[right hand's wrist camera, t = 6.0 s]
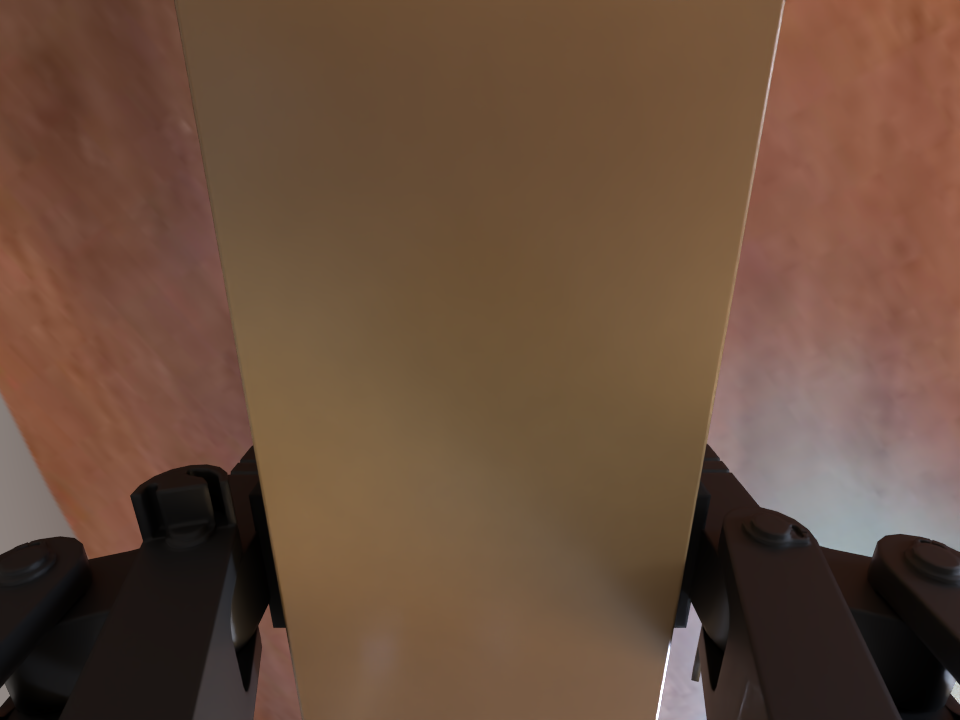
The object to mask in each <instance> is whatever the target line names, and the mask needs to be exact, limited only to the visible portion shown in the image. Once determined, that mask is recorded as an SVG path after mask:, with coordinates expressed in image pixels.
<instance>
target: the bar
mask: <svg viewBox="0 0 960 720" xmlns="http://www.w3.org/2000/svg"><path fill="white" fill-rule="evenodd" d="M174 2H175V8H176V13H177V19H178V25H179V30H180V36H181V42H182V47H183V53H184V58H185V64H186V70H187V75H188V81H189V86H190V92H191V98H192V103H193V109H194V115H195V120H196V126H197V131H198V137H199V143H200V148H201V154H202V159H203V165H204V171H205V176H206V182H207V188H208V193H209V199H210V204H211V210H212V216H213V221H214V227H215V233H216V238H217V244H218V249H219V255H220V261H221V266H222V272H223V277H224V283H225V289H226V294H227V300H228V306H229V311H230V317H231V322H232V328H233V334H234V339H235V345H236V351H237V356H238V362H239V367H240V373H241V379H242V384H243V390H244V395H245V401H246V407H247V412H248V418H249V424H250V429H251V435H252V440H253V446H254V452H255V457H256V463H257V468H258V474H259V480H260V485H261V491H262V497H263V502H264V508H265V513H266V519H267V525H268V530H269V536H270V542H271V547H272V553H273V558H274V564H275V570H276V575H277V581H278V586H279V592H280V598H281V603H282V609H283V615H284V620H285V626H286V631H287V637H288V643H289V648H290V654H291V660H292V665H293V671H294V676H295V682H296V688H297V693H298V699H299V704H300V710H301V716H302V720H657V719H658V714H659V708H660V703H661V697H662V691H663V686H664V680H665V674H666V669H667V663H668V658H669V652H670V646H671V641H672V635H673V629H674V624H675V618H676V613H677V607H678V601H679V596H680V590H681V584H682V579H683V573H684V568H685V562H686V556H687V551H688V545H689V539H690V534H691V528H692V523H693V517H694V511H695V506H696V500H697V494H698V489H699V483H700V478H701V472H702V466H703V461H704V455H705V450H706V444H707V438H708V433H709V427H710V421H711V416H712V410H713V405H714V399H715V393H716V388H717V382H718V376H719V371H720V365H721V360H722V354H723V348H724V343H725V337H726V331H727V326H728V320H729V315H730V309H731V303H732V298H733V292H734V286H735V281H736V275H737V270H738V264H739V258H740V253H741V247H742V241H743V236H744V230H745V225H746V219H747V213H748V208H749V202H750V197H751V191H752V185H753V180H754V174H755V168H756V163H757V157H758V152H759V146H760V140H761V135H762V129H763V123H764V118H765V112H766V107H767V101H768V95H769V90H770V84H771V78H772V73H773V67H774V62H775V56H776V50H777V45H778V39H779V33H780V28H781V22H782V17H783V11H784V5H785V0H174Z"/></svg>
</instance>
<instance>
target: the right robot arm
mask: <svg viewBox="0 0 960 720" xmlns="http://www.w3.org/2000/svg"><path fill="white" fill-rule="evenodd" d="M130 497H131V500H132V504H133V507H134V511H135V514H136V518H137V521H138V525H139V528H140V532H141V535H142V539H143V543H142V545H141V547H140V548H139V549H136V550H132V551H128V552H123V553H118V554H113V555H108V556H104V557H99V558H94V559H89V560H88V558H87V555H86V552H85V549H84V547H83V544H82V543H81V542H79V541H78V540H77V539H75V538H70V537H61V536H60V537H53V538H46V539H39V540H35V541H31V542H30V543H25V544H22V545H19V546H17V547H15V548H13V549H12V550H10V551H7V552H5V553H3V554H1V555H0V688H1V687H2V686H3V685H4V683H5V685H6V687H7V690H8V692H9V694H10V697H9V698H8V699H7V700H6V701H5V702H4V704H3V705H2V706H1V707H0V720H253V717H254V709H255V701H256V692H257V684H258V676H259V668H260V659H261V651H262V644H261V637H260V632H259V627H258V625H259V623H260V621H261V619H262V616H263V614H264V612H265V610H266V608H267V606H268V604H269V606H270V612H271V617H272V622H273V628H286V626H285V620H284V615H283V609H282V603H281V598H280V592H279V586H278V581H277V575H276V570H275V564H274V558H273V553H272V547H271V542H270V536H269V530H268V525H267V519H266V513H265V508H264V502H263V497H262V491H261V485H260V480H259V474H258V468H257V463H256V457H255V452H254V446H252V447H251V448H250V449H249V450H248V451H247V453H246V454H245V455H244V456H243V457H242V459H241V460H240V463H238V464H237V465H236V466H235V467H234V468H233V470H232V471H231V475H228V474H227V472H225V471H224V470H223V469H222V468H220V467H217V466H212V465H189V466H185V467H180V468H176V469H172V470H169V471H167V472H164V473H162V474H159V475H156V476H154V477H152V478H151V479H149V480H148V481H146V482H144V483H143V484H141V485H140V486H139V487H138V488H137V489H136V490H135V491H134V492H133V493H132V494H131V495H130ZM691 602H692V604H693V606H694V608H695V610H696V613H697V615H698V617H699V619H700V621H701V623H702V627H701V632H700V637H699V642H698V647H697V652H696V656H695V661H694V666H693V672H692V679H691V680H693V681H697V682H699V677H700V672H701V675H702V683H703V691H704V699H705V708H706V716H707V720H960V704H959V703H958V702H957V701H956V700H955V698H954V697H953V696H952V695H951V694H950V693H951V691H952V688H953V686H954V684H955V682H956V681H957V682H958V683H959V684H960V552H958V551H956V550H954V549H952V548H950V547H948V546H946V545H945V544H943V543H940V542H937V541H934V540H930V539H927V538H923V537H918V536H911V535H904V534H896V535H887V536H885V537H883V538H882V539H880V540H879V541H878V542H877V545H876V548H875V551H874V554H873V557H867V556H863V555H858V554H853V553H848V552H843V551H838V550H833V549H829V548H825V547H821V546H819V544H818V542H817V540H816V539H815V537H814V536H813V535H812V534H811V532H810V531H809V530H808V529H807V528H806V527H804V526H803V525H801V524H800V523H799V522H797V521H796V520H795V519H792V518H790V517H788V516H786V515H784V514H781V513H779V512H777V511H773V510H769V509H765V508H761V507H760V506H759V505H758V504H757V503H756V502H755V500H754V499H753V498H752V497H751V496H750V494H749V493H748V492H747V491H746V490H745V488H744V487H743V486H742V485H741V484H740V482H739V481H738V480H737V479H736V478H735V476H734V475H733V474H732V473H729V469H728V468H727V467H726V465H725V464H724V463H723V462H722V461H720V458H719V457H718V456H717V455H716V453H715V452H714V451H713V450H712V449H711V447H710V446H709V445H708V444H706V450H705V455H704V461H703V466H702V472H701V478H700V483H699V489H698V494H697V500H696V506H695V511H694V517H693V523H692V528H691V534H690V539H689V545H688V551H687V556H686V562H685V568H684V573H683V579H682V584H681V590H680V596H679V601H678V607H677V613H676V618H675V624H674V628H686V626H687V620H688V615H689V610H690V604H691Z"/></svg>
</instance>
